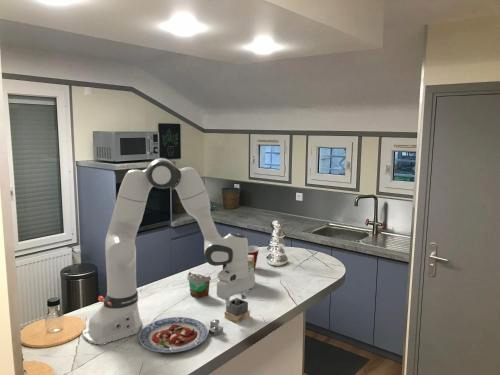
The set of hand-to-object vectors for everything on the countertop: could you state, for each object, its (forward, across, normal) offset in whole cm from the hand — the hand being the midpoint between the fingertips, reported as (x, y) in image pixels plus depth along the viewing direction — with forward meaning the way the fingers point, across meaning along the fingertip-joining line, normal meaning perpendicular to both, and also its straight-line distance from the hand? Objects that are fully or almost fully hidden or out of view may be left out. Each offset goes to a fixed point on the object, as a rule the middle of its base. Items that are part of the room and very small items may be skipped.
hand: (236, 302), depth 171 cm
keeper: (+7, 0, 0) cm, 7 cm away
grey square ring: (+4, 0, 0) cm, 4 cm away
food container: (+7, -3, -28) cm, 29 cm away
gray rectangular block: (+7, +12, -1) cm, 14 cm away
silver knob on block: (+7, +15, +3) cm, 17 cm away
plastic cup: (+7, -47, -33) cm, 58 cm away
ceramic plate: (+8, +28, -6) cm, 30 cm away
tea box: (+7, -26, -22) cm, 35 cm away
